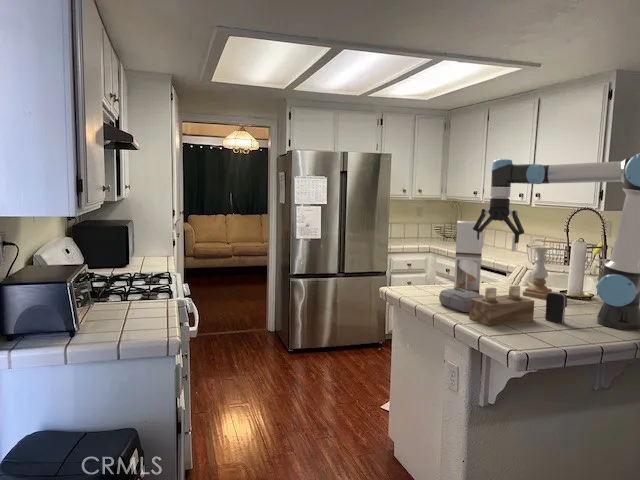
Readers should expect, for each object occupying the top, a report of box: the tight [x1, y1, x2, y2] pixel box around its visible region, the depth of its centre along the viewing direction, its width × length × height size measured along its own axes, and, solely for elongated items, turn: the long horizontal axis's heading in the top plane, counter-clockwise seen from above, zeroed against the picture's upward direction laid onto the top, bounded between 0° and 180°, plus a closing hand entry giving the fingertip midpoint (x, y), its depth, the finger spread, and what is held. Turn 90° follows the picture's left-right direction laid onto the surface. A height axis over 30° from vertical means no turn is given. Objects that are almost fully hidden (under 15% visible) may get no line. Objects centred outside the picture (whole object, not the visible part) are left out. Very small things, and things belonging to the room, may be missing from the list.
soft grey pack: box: [438, 287, 484, 313], centre depth 206 cm, size 15×8×20 cm
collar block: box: [468, 294, 535, 327], centre depth 188 cm, size 11×22×8 cm, turn 113°
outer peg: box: [484, 286, 497, 303], centre depth 185 cm, size 4×4×6 cm
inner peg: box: [508, 284, 521, 300], centre depth 190 cm, size 4×4×6 cm
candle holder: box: [522, 244, 554, 300], centre depth 230 cm, size 11×11×24 cm
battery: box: [544, 291, 568, 324], centre depth 188 cm, size 7×4×11 cm, turn 37°
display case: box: [453, 220, 484, 294], centre depth 227 cm, size 11×11×35 cm
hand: (496, 249), depth 199 cm, fingers open, 13 cm apart
